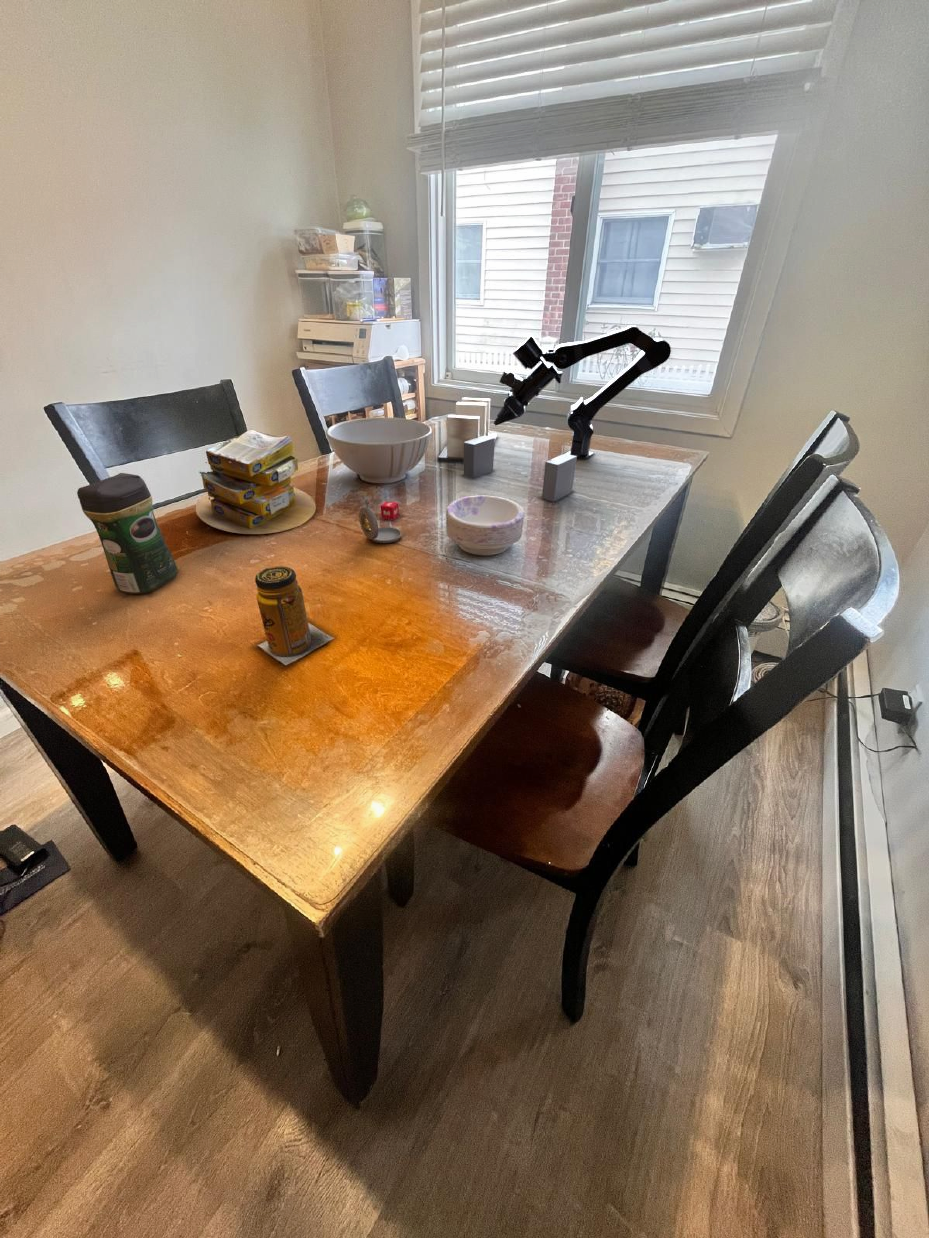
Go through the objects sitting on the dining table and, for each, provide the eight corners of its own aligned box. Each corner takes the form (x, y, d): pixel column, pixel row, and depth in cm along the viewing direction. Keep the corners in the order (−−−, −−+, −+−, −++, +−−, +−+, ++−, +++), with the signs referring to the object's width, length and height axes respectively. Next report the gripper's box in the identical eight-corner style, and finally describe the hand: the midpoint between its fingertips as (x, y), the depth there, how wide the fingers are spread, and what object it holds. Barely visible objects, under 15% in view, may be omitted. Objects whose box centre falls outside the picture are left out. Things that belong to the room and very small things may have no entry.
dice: (393, 520, 115) (392, 507, 113) (381, 518, 115) (380, 505, 114) (399, 515, 117) (398, 502, 115) (387, 513, 118) (386, 500, 116)
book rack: (496, 437, 173) (498, 398, 166) (485, 464, 149) (487, 420, 142) (455, 434, 175) (455, 396, 168) (437, 461, 150) (437, 417, 143)
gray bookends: (483, 468, 146) (484, 435, 141) (572, 491, 131) (577, 456, 126) (463, 476, 140) (463, 442, 135) (553, 501, 125) (558, 464, 120)
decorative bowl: (429, 494, 128) (427, 445, 121) (321, 492, 128) (314, 443, 121) (435, 461, 150) (434, 418, 143) (343, 459, 150) (338, 416, 143)
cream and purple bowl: (509, 569, 97) (512, 529, 92) (434, 555, 101) (433, 517, 96) (529, 536, 108) (532, 500, 104) (461, 525, 113) (462, 490, 108)
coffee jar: (153, 566, 95) (116, 466, 85) (187, 573, 93) (153, 472, 83) (107, 591, 88) (61, 485, 77) (143, 600, 86) (100, 492, 75)
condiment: (257, 646, 76) (238, 574, 69) (305, 621, 81) (292, 553, 75) (286, 667, 72) (268, 593, 65) (334, 639, 77) (323, 569, 71)
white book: (485, 443, 162) (486, 403, 156) (484, 446, 159) (485, 405, 153) (457, 442, 163) (457, 401, 156) (455, 445, 160) (455, 404, 154)
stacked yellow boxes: (338, 509, 119) (328, 435, 110) (246, 547, 102) (225, 463, 93) (269, 487, 131) (255, 418, 121) (176, 518, 114) (152, 441, 104)
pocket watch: (406, 534, 109) (404, 488, 103) (389, 550, 102) (385, 502, 96) (372, 528, 111) (367, 482, 105) (352, 544, 104) (346, 496, 99)
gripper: (520, 355, 153) (482, 394, 161) (514, 364, 138) (473, 406, 146) (544, 385, 157) (506, 421, 164) (541, 396, 141) (499, 436, 149)
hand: (496, 420), depth 156 cm, fingers open, 9 cm apart
